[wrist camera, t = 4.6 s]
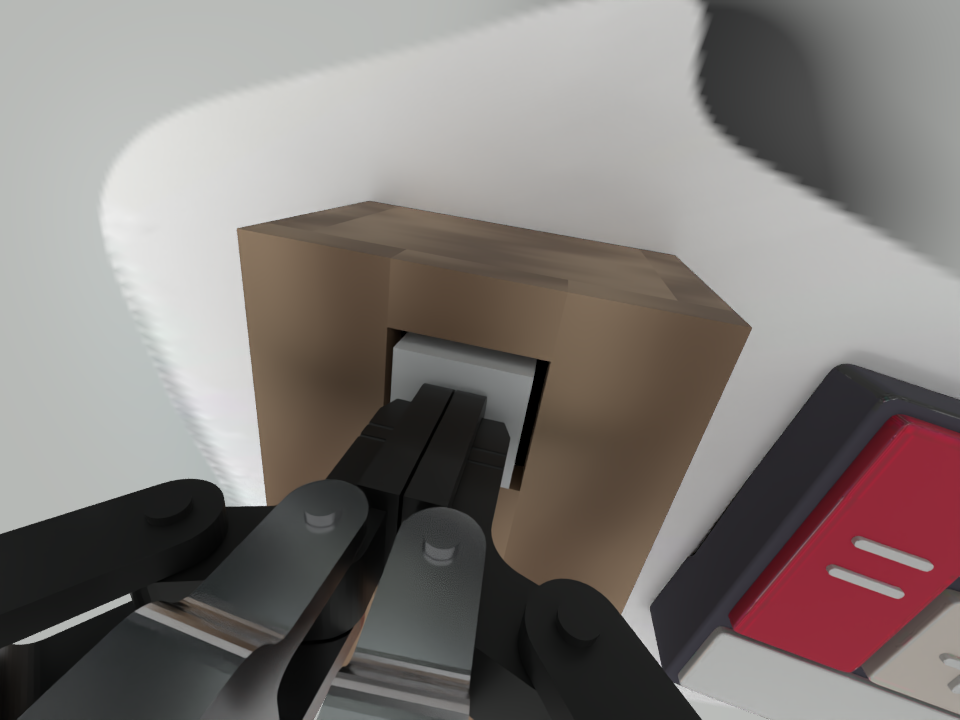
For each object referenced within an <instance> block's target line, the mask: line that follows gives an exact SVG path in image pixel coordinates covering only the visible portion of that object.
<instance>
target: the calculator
mask: <svg viewBox="0 0 960 720" xmlns="http://www.w3.org/2000/svg"><path fill="white" fill-rule="evenodd" d="M650 611H651V616H652V621H653V626H654V631H655V636H656V641H657V646H658V650H659V655H660V660H661V665H662V669H663V670H664V671H665V673H666V674H667V675H668V676H669V678H670V679H671V680H672V682H673V683H676V684H679V685H681V686H683V687H685V688H687V689H690V690H692V691H695V692H698V693H700V694H703V695H706V696H708V697H711V698H714V699H716V700H719V701H722V702H724V703H727V704H730V705H732V706H735V707H738V708H740V709H743V710H746V711H748V712H751V713H753V714H756V715H759V716H762V717H764V718H767V719H770V720H960V400H958V399H955V398H952V397H949V396H946V395H943V394H940V393H937V392H934V391H931V390H928V389H925V388H922V387H919V386H916V385H913V384H910V383H907V382H904V381H901V380H898V379H895V378H892V377H889V376H886V375H883V374H880V373H877V372H874V371H871V370H868V369H865V368H862V367H859V366H856V365H852V364H841V365H839V366H836V367H835V368H833V369H832V370H831V371H830V372H829V374H828V375H827V376H826V377H825V379H824V380H823V381H822V383H821V384H820V385H819V386H818V388H817V389H816V390H815V392H814V393H813V394H812V396H811V397H810V398H809V399H808V401H807V402H806V403H805V405H804V406H803V407H802V409H801V410H800V411H799V413H798V414H797V415H796V416H795V418H794V419H793V420H792V422H791V423H790V424H789V426H788V427H787V428H786V430H785V431H784V432H783V433H782V435H781V436H780V437H779V439H778V440H777V441H776V443H775V444H774V445H773V447H772V448H771V449H770V450H769V452H768V453H767V454H766V456H765V457H764V458H763V460H762V461H761V462H760V464H759V465H758V466H757V468H756V469H755V470H754V472H753V473H752V474H751V476H750V477H749V478H748V480H747V481H746V483H745V484H744V485H743V487H742V488H741V490H740V491H739V492H738V494H737V495H736V497H735V498H734V499H733V501H732V502H731V504H730V505H729V507H728V508H727V509H726V511H725V512H724V514H723V515H722V516H721V518H720V519H719V521H718V522H717V524H716V525H715V526H714V528H713V529H712V531H711V532H710V533H709V535H708V536H707V538H706V539H705V541H704V542H703V543H702V545H701V546H700V547H699V549H698V550H697V552H696V553H695V554H694V555H693V556H690V557H688V558H687V559H686V560H685V561H684V563H683V564H682V565H681V566H680V568H679V569H678V570H677V572H676V573H675V574H674V576H673V577H672V578H671V580H670V581H669V582H668V583H667V585H666V586H665V587H664V589H663V590H662V591H661V593H660V594H659V595H658V597H657V598H656V599H655V600H654V602H653V603H652V605H651V606H650Z"/></svg>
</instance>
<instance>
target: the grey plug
mask: <svg viewBox="0 0 960 720" xmlns="http://www.w3.org/2000/svg"><path fill="white" fill-rule="evenodd" d="M536 362H537V359H536V358H531V357H526V356H521V355H517V354H512V353H507V352H502V351H498V350H493V349H488V348H483V347H479V346H474V345H469V344H465V343H460V342H455V341H450V340H446V339H441V338H436V337H431V336H427V335H422V334H417V333H413V332H408V333H407V334H406V335H405V336H404V337H403V338H402V339H401V340H400V341H399V342H398V343H397V344H396V345H395V346H394V347H393V364H392V381H391V399H390V402H392V401H394V400H395V399H397V398H398V399H402V400H406V401H412V400H413V398H414V397H415V395H416V394H417V392H418V391H419V389H420V388H421V386H422V385H423V384H424V383H427V384H432V385H436V386H441V387H445V388H450V389H454V390H455V392H456V390H459V391H464V392H468V393H473V394H477V395H482V396H486V397H487V404H486V410H485V416H484V418H486V419H490V420H494V421H499V422H503V423H505V425H506V428H507V430H508V433H509V436H510V438H511V439H510V444H509V448H508V453H507V458H506V462H505V467H504V472H503V477H502V481H501V486H500V487H503V488H507V489H509V485H510V481H511V476H512V472H513V468H514V463H515V459H516V454H517V450H518V445H519V441H520V437H521V432H522V428H523V423H524V419H525V414H526V410H527V405H528V401H529V397H530V392H531V388H532V383H533V379H534V373H535V368H536Z"/></svg>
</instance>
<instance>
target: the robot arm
mask: <svg viewBox="0 0 960 720" xmlns="http://www.w3.org/2000/svg"><path fill="white" fill-rule="evenodd" d="M486 404H487V397H486V396H482V395H477V394H473V393H468V392H464V391H459V390H456V392H455V390H454V389H450V388H445V387H441V386H436V385H432V384H427V383H424V384H423V385H422V386H421V388H420V389H419V391H418V392H417V394H416V395H415V397H414V398H413V400H412V401H406V400H402V399H398V398H397V399H395V400H394V401H392V402H390V403H388V404H386V405H385V406H383V407H381V408H380V409H379V410H378V411H377V412H376V414H375V415H374V416H373V418H372V419H371V420H370V422H369V425H367V426H366V427H365V428H364V429H363V431H362V432H361V434H360V437H359V436H358V437H357V439H356V440H355V441H354V442H353V444H352V445H351V446H350V448H349V449H348V450H347V452H346V453H345V454H344V455H343V457H342V458H341V459H340V461H339V462H338V463H337V465H336V466H335V467H334V469H333V470H332V471H331V472H330V474H329V475H328V476H327V478H326V479H325V480H318V481H314V482H310V483H307V484H305V485H302V486H300V487H298V488H296V489H295V490H293V491H292V492H290V493H289V494H288V495H287V496H286V497H285V498H284V499H283V500H282V501H281V502H280V503H279V504H278V505H275V506H244V507H225V501H224V496H223V493H222V491H221V490H220V488H218V487H217V486H216V485H215V484H213V483H211V482H208V481H204V480H199V479H181V480H175V481H170V482H166V483H162V484H159V485H156V486H152V487H149V488H146V489H143V490H140V491H137V492H134V493H130V494H127V495H124V496H121V497H118V498H114V499H111V500H108V501H105V502H101V503H98V504H95V505H92V506H89V507H85V508H82V509H79V510H76V511H73V512H70V513H66V514H63V515H60V516H57V517H54V518H51V519H47V520H44V521H41V522H38V523H34V524H31V525H28V526H25V527H22V528H18V529H16V530H12V531H9V532H6V533H2V534H0V720H313V719H314V718H315V716H316V714H317V712H318V710H319V708H320V707H321V704H322V703H323V701H324V703H323V705H322V708H321V710H320V713H319V716H318V718H317V720H468V719H469V716H470V717H471V718H472V719H474V720H702V719H701V718H700V717H699V715H698V714H697V713H696V711H695V710H694V709H693V708H692V706H691V705H690V704H689V702H688V701H687V700H686V699H685V697H684V696H683V695H682V693H681V692H680V691H679V689H678V688H677V687H676V686H675V684H674V683H673V682H672V680H671V679H670V678H669V676H668V675H667V674H666V673H665V671H664V670H663V669H662V667H661V666H660V665H659V664H658V662H657V661H656V660H655V658H654V657H653V656H652V654H651V653H650V652H649V651H648V649H647V648H646V647H645V645H644V644H643V643H642V641H641V640H640V639H639V638H638V636H637V635H636V634H635V632H634V631H633V630H632V628H631V627H630V626H629V625H628V623H627V622H626V621H625V619H624V618H623V617H622V616H621V614H620V613H619V612H618V610H617V609H616V608H615V607H614V605H613V604H612V603H611V602H610V601H609V600H608V599H607V598H606V597H605V596H604V595H603V594H602V593H600V592H599V591H597V590H596V589H595V588H593V587H591V586H589V585H587V584H585V583H582V582H580V581H577V580H572V579H563V578H561V579H553V580H550V581H546V582H545V583H543V584H541V585H537V584H536V583H534V582H533V581H531V580H529V579H528V578H526V577H524V576H523V575H521V574H519V573H518V572H517V571H515V570H514V569H512V568H511V567H510V566H509V565H508V564H507V563H506V562H505V561H504V560H503V559H502V557H501V556H500V555H499V553H498V551H497V550H496V548H495V545H494V543H493V539H492V532H491V529H492V523H493V518H494V514H495V509H496V504H497V500H498V495H499V491H500V486H501V481H502V477H503V472H504V467H505V462H506V458H507V453H508V448H509V444H510V439H511V438H510V436H509V433H508V430H507V428H506V425H505V423H503V422H499V421H494V420H490V419H486V418H484V416H485V410H486ZM377 586H378V588H377V590H376V593H375V596H374V599H373V601H372V604H371V607H370V610H369V613H368V615H367V618H366V621H365V624H364V626H363V623H364V619H365V611H366V609H367V606H368V604H369V602H370V600H371V598H372V595H373V593H374V591H375V589H376V587H377ZM129 593H130V595H131V598H132V601H130V602H128V603H126V604H123V605H121V606H119V607H117V608H114V609H112V610H110V611H107V612H105V613H103V614H101V615H98V616H96V617H94V618H92V619H89V620H87V621H85V622H82V623H80V624H78V625H76V626H74V627H71V628H69V629H67V630H64V631H62V632H60V633H57V634H55V635H53V636H51V637H48V638H46V639H44V640H41V641H38V642H35V643H30V644H24V645H15V644H13V643H15V642H17V641H20V640H22V639H24V638H27V637H29V636H31V635H33V634H36V633H38V632H41V631H43V630H45V629H48V628H50V627H52V626H55V625H57V624H59V623H62V622H64V621H66V620H69V619H71V618H73V617H75V616H78V615H80V614H82V613H85V612H87V611H90V610H92V609H94V608H97V607H99V606H101V605H103V604H106V603H108V602H110V601H113V600H115V599H117V598H120V597H122V596H124V595H127V594H129ZM362 626H363V629H362ZM361 629H362V632H361V635H360V637H359V640H358V643H357V646H356V648H355V651H354V653H353V656H352V658H351V660H350V662H349V663H348V665H347V666H343V667H342V665H343V663H344V661H345V659H346V657H347V656H348V654H349V652H350V650H351V648H352V646H353V644H354V642H355V641H356V639H357V637H358V635H359V633H360V631H361ZM325 697H326V698H325ZM324 699H325V700H324Z"/></svg>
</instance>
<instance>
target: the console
mask: <svg viewBox="0 0 960 720" xmlns="http://www.w3.org/2000/svg"><path fill="white" fill-rule="evenodd" d="M237 235H238V244H239V253H240V262H241V271H242V281H243V290H244V299H245V308H246V318H247V327H248V336H249V345H250V354H251V364H252V373H253V382H254V391H255V401H256V410H257V419H258V428H259V437H260V447H261V456H262V465H263V474H264V484H265V493H266V502H267V506H275V505H278V504H279V503H280V502H281V501H282V500H283V499H284V498H285V497H286V496H287V495H288V494H289V493H290V492H292V491H293V490H295V489H296V488H298V487H300V486H302V485H305V484H307V483H310V482H314V481H318V480H325V479H326V478H327V476H328V475H329V474H330V472H331V471H332V470H333V469H334V467H335V466H336V465H337V463H338V462H339V461H340V459H341V458H342V457H343V455H344V454H345V453H346V452H347V450H348V449H349V448H350V446H351V445H352V444H353V442H354V441H355V440H356V439H357V437H358V436H359V437H360V434H361V432H362V431H363V429H364V428H365V427H366V426H367V425H369V422H370V420H371V419H372V418H373V416H374V415H375V414H376V412H377V411H378V410H379V409H380V408H381V407H383V406H385V405H386V404H388V403H390V399H391V381H392V364H393V347H394V346H395V345H396V344H397V343H398V342H399V341H400V340H401V330H403V331H408V332H413V333H417V334H422V335H427V336H431V337H436V338H441V339H446V340H450V341H455V342H460V343H465V344H469V345H474V346H479V347H483V348H488V349H493V350H498V351H502V352H507V353H512V354H517V355H521V356H526V357H531V358H536V359H540V360H545V361H549V363H548V367H547V371H546V375H545V380H544V384H543V388H542V392H541V396H540V400H539V405H538V409H537V413H536V417H535V421H534V426H533V430H532V434H531V438H530V442H529V447H528V451H527V455H526V459H525V463H524V467H522V466H518V465H514V468H513V472H512V476H511V481H510V485H509V489H507V488H503V487H500V491H499V495H498V500H497V504H496V509H495V514H494V518H493V523H492V529H491V532H492V539H493V543H494V545H495V548H496V550H497V551H498V553H499V555H500V556H501V557H502V559H503V560H504V561H505V562H506V563H507V564H508V565H509V566H510V567H511V568H512V569H514V570H515V571H517V572H518V573H519V574H521V575H523V576H524V577H526V578H528V579H529V580H531V581H533V582H534V583H536V584H537V585H541V584H543V583H545V582H546V581H550V580H553V579H561V578H563V579H572V580H577V581H580V582H582V583H585V584H587V585H589V586H591V587H593V588H595V589H596V590H597V591H599V592H600V593H602V594H603V595H604V596H605V597H606V598H607V599H608V600H609V601H610V602H611V603H612V604H613V605H614V607H615V608H616V609H617V610H618V612H619V613H620V614H621V613H622V611H623V609H624V607H625V605H626V602H627V600H628V598H629V596H630V594H631V592H632V589H633V587H634V585H635V583H636V581H637V578H638V576H639V574H640V572H641V570H642V568H643V565H644V563H645V561H646V559H647V557H648V554H649V552H650V550H651V548H652V546H653V543H654V541H655V539H656V537H657V535H658V533H659V530H660V528H661V526H662V524H663V522H664V519H665V517H666V515H667V513H668V511H669V509H670V506H671V504H672V502H673V500H674V498H675V495H676V493H677V491H678V489H679V487H680V484H681V482H682V480H683V478H684V476H685V474H686V471H687V469H688V467H689V465H690V463H691V460H692V458H693V456H694V454H695V452H696V450H697V447H698V445H699V443H700V441H701V439H702V436H703V434H704V432H705V430H706V428H707V426H708V423H709V421H710V419H711V417H712V415H713V412H714V410H715V408H716V406H717V404H718V401H719V399H720V397H721V395H722V393H723V391H724V388H725V386H726V384H727V382H728V380H729V377H730V375H731V373H732V371H733V369H734V367H735V364H736V362H737V360H738V358H739V356H740V353H741V351H742V349H743V347H744V345H745V343H746V340H747V338H748V336H749V334H750V332H751V329H752V327H751V326H750V325H749V324H748V323H747V322H746V321H744V320H743V319H742V318H741V317H740V316H739V315H738V314H737V313H736V312H735V311H734V310H733V309H732V308H731V307H730V306H728V305H727V304H726V303H725V302H724V301H723V300H722V299H721V298H720V297H719V296H718V295H717V294H716V293H715V292H714V291H713V290H711V289H710V288H709V287H708V286H707V285H706V284H705V283H704V282H703V281H702V280H701V279H700V278H699V277H698V276H697V275H696V274H694V273H693V272H692V271H691V270H690V269H689V268H688V267H687V266H686V265H685V264H684V263H683V262H682V261H681V260H680V259H678V258H677V257H676V256H675V255H669V254H664V253H658V252H653V251H647V250H641V249H636V248H630V247H624V246H619V245H613V244H608V243H602V242H596V241H591V240H585V239H580V238H574V237H568V236H563V235H557V234H552V233H546V232H540V231H535V230H529V229H523V228H518V227H512V226H507V225H501V224H495V223H490V222H484V221H479V220H473V219H467V218H462V217H456V216H451V215H445V214H439V213H434V212H428V211H422V210H417V209H411V208H406V207H400V206H394V205H389V204H383V203H378V202H372V201H366V202H362V203H357V204H352V205H347V206H342V207H338V208H333V209H328V210H323V211H318V212H314V213H309V214H304V215H299V216H294V217H290V218H285V219H280V220H275V221H271V222H266V223H261V224H256V225H251V226H247V227H242V228H237ZM377 588H378V586H377V587H376V589H375V591H374V593H373V595H372V598H371V600H370V602H369V604H368V606H367V609H366V611H365V619H364V623H363V626H364V624H365V621H366V618H367V615H368V613H369V610H370V607H371V604H372V601H373V599H374V596H375V593H376V590H377ZM363 626H362V629H363ZM362 629H361V631H360V633H359V635H358V637H357V639H356V641H355V642H354V644H353V646H352V648H351V650H350V652H349V654H348V656H347V657H346V659H345V661H344V663H343V665H342V667H343V666H347V665H348V663H349V662H350V660H351V658H352V656H353V653H354V651H355V648H356V646H357V643H358V640H359V637H360V635H361V632H362ZM468 720H474V719H472V718H471V717H470V716H469V719H468Z"/></svg>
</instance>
